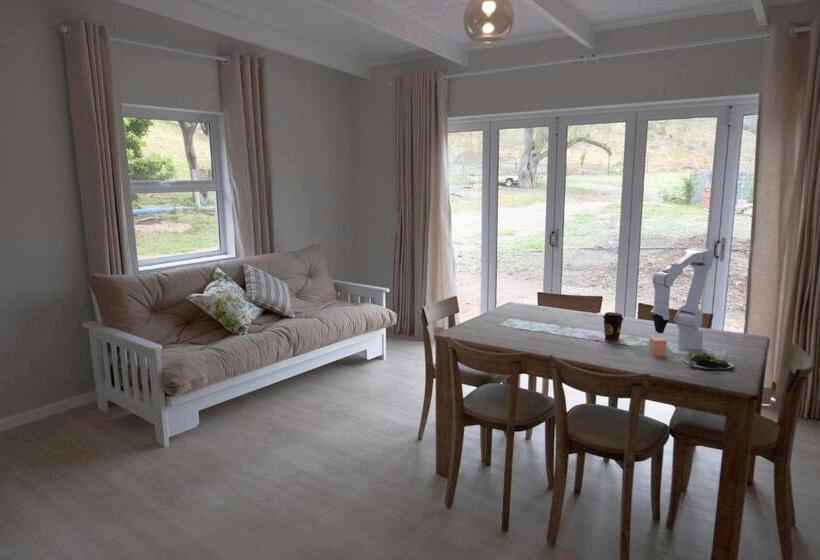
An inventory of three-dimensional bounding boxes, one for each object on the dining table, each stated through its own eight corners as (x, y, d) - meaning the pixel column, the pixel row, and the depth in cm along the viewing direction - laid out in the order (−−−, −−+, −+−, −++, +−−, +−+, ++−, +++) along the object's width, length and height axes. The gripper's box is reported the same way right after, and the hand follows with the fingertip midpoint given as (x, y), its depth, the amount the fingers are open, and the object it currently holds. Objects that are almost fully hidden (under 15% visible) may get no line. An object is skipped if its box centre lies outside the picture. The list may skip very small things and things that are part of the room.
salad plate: (669, 357, 232) (670, 347, 231) (710, 356, 233) (711, 346, 232) (695, 373, 213) (696, 361, 212) (740, 372, 214) (741, 360, 213)
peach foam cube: (661, 352, 236) (662, 337, 235) (665, 356, 231) (666, 340, 230) (648, 352, 237) (649, 337, 236) (652, 355, 232) (653, 340, 231)
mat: (665, 346, 246) (665, 345, 246) (680, 358, 229) (680, 357, 229) (626, 345, 247) (626, 344, 247) (637, 357, 231) (637, 356, 231)
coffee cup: (608, 344, 250) (610, 316, 248) (598, 339, 258) (599, 312, 256) (625, 342, 252) (627, 314, 250) (614, 337, 260) (615, 310, 258)
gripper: (646, 297, 237) (644, 327, 240) (657, 304, 223) (655, 336, 226) (663, 297, 237) (660, 327, 239) (675, 304, 223) (673, 337, 225)
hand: (659, 332), depth 232 cm, fingers closed
